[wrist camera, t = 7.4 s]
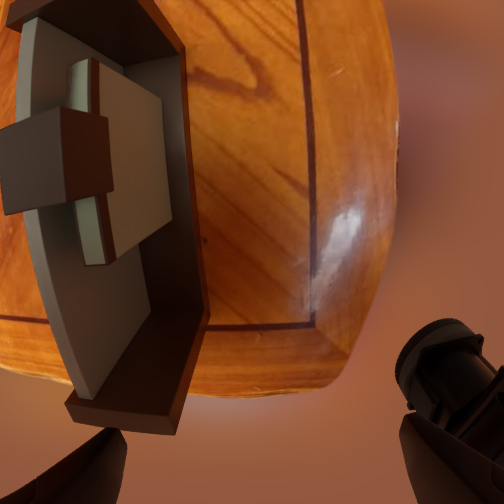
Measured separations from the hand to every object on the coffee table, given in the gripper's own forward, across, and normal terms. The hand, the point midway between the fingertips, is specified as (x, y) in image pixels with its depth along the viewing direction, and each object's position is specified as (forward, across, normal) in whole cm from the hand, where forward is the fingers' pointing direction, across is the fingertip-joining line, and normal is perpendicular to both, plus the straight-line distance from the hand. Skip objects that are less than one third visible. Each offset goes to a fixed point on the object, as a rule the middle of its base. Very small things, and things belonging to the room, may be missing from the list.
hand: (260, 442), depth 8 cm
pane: (+11, +5, -8) cm, 15 cm away
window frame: (+13, +6, -7) cm, 16 cm away
